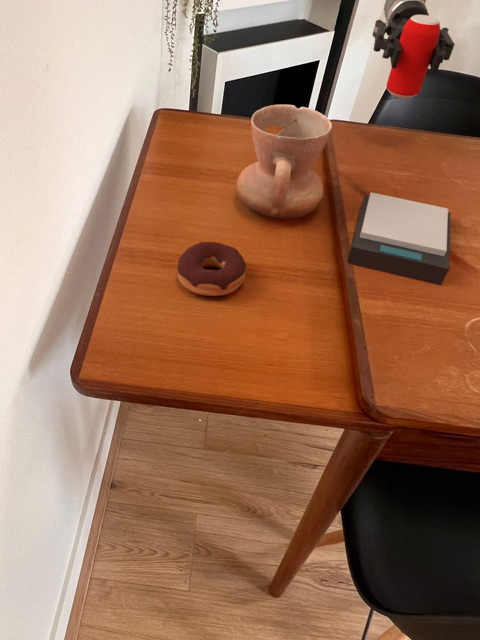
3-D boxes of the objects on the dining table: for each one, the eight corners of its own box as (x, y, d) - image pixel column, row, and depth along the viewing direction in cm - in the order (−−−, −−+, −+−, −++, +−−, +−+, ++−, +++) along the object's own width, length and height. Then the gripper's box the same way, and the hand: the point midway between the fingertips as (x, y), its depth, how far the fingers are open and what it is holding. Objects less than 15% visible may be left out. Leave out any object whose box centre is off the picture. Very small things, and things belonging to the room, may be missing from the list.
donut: (212, 249, 81) (214, 227, 78) (259, 281, 76) (263, 259, 73) (162, 275, 76) (162, 252, 73) (208, 311, 71) (210, 288, 68)
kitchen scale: (441, 285, 78) (452, 263, 75) (346, 263, 80) (353, 240, 77) (443, 228, 88) (453, 206, 85) (359, 210, 90) (366, 188, 87)
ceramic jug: (244, 174, 97) (254, 91, 86) (323, 187, 95) (343, 105, 84) (224, 227, 85) (232, 139, 74) (313, 243, 83) (335, 156, 72)
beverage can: (413, 88, 100) (438, 14, 91) (421, 102, 95) (448, 25, 86) (381, 86, 99) (403, 11, 90) (388, 99, 95) (411, 23, 86)
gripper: (449, 49, 106) (465, 92, 91) (353, 37, 108) (354, 79, 92) (465, 4, 100) (485, 43, 85) (364, -7, 102) (366, 29, 87)
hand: (416, 62), depth 89 cm, fingers closed on beverage can, 6 cm apart
